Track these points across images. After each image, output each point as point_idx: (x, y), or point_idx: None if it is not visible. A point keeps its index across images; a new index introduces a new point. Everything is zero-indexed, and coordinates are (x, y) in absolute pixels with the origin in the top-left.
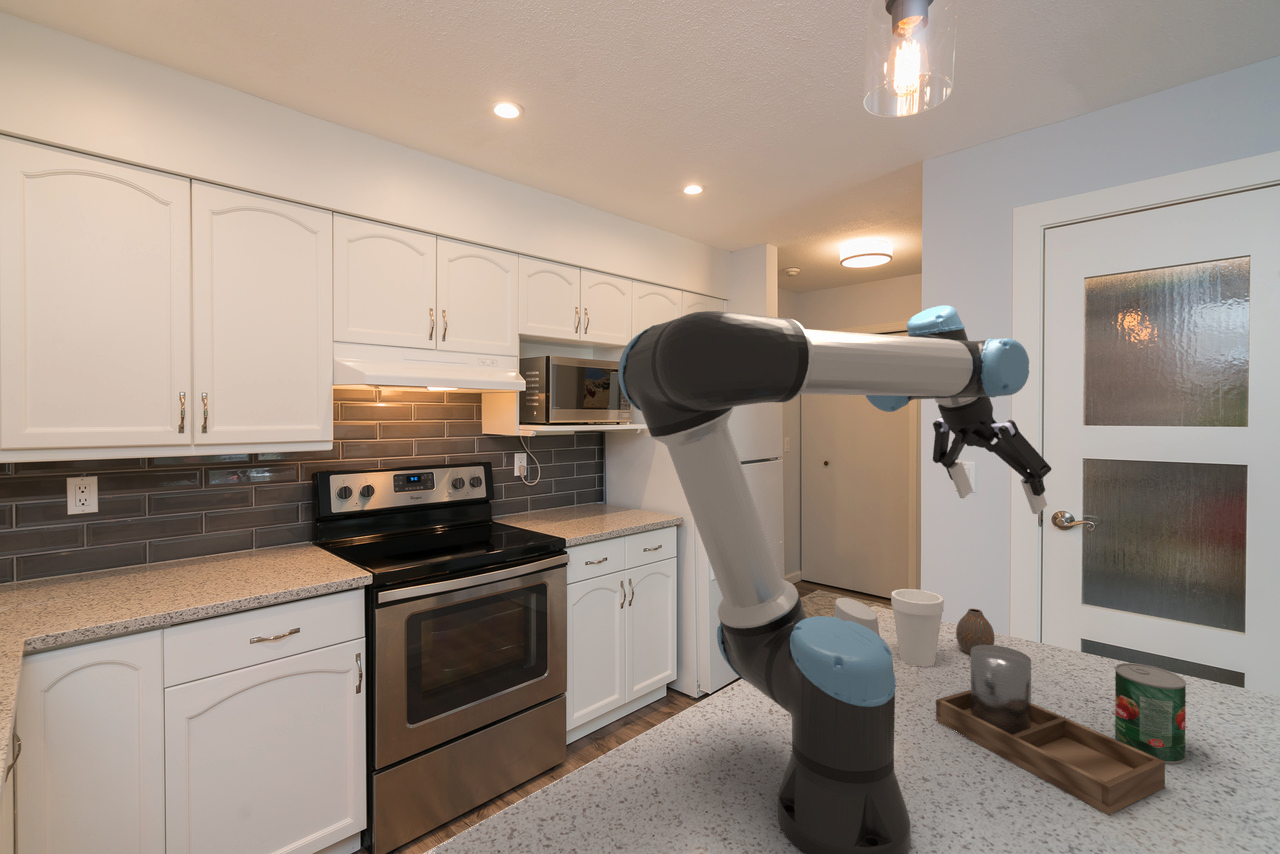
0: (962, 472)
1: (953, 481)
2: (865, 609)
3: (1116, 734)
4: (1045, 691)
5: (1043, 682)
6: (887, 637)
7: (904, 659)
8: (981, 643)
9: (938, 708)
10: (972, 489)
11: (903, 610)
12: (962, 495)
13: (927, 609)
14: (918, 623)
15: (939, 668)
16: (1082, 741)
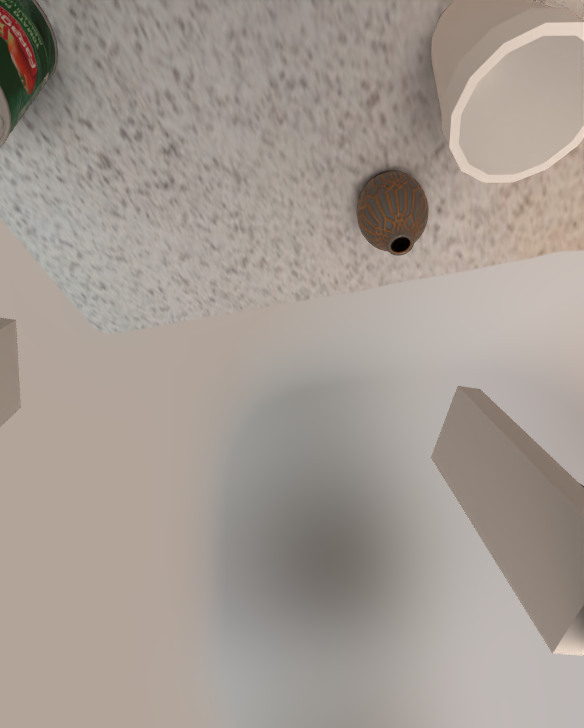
0: (512, 546)
1: (553, 459)
2: None
3: (25, 1)
4: (227, 124)
5: (250, 161)
6: None
7: None
8: (370, 188)
9: None
10: (434, 461)
11: (549, 10)
12: (467, 397)
13: (476, 57)
14: (489, 22)
15: (413, 39)
16: None
